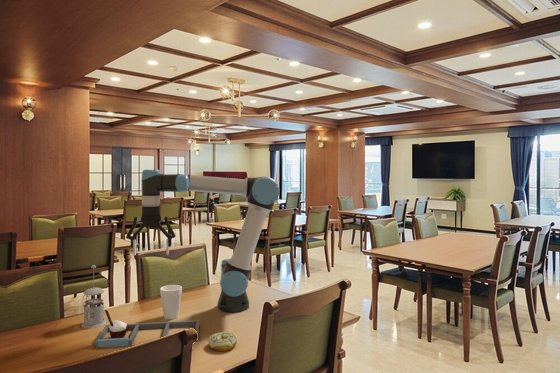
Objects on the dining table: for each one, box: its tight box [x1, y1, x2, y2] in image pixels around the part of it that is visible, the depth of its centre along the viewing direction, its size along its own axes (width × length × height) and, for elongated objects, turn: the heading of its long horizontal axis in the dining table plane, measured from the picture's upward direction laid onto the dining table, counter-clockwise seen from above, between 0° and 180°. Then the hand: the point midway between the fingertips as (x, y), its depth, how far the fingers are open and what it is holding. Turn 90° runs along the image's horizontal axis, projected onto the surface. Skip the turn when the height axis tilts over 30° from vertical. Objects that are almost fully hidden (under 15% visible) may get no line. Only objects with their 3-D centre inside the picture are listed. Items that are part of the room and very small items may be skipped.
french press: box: [81, 264, 107, 329], centre depth 169 cm, size 10×12×25 cm
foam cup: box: [159, 284, 183, 320], centre depth 178 cm, size 10×9×13 cm
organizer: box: [93, 319, 200, 349], centre depth 157 cm, size 37×17×2 cm, turn 99°
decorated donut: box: [208, 331, 238, 352], centre depth 149 cm, size 10×11×4 cm
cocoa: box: [104, 309, 130, 339], centre depth 155 cm, size 10×6×12 cm, turn 120°
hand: (151, 254), depth 172 cm, fingers open, 13 cm apart
